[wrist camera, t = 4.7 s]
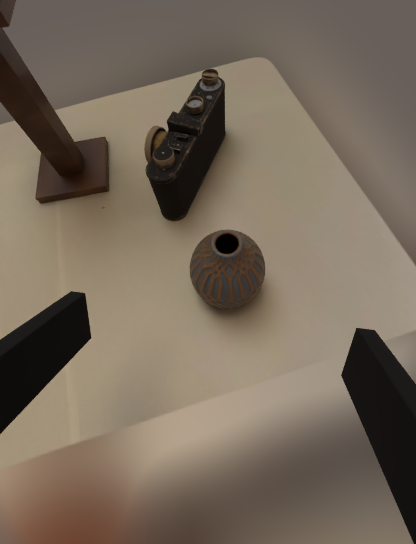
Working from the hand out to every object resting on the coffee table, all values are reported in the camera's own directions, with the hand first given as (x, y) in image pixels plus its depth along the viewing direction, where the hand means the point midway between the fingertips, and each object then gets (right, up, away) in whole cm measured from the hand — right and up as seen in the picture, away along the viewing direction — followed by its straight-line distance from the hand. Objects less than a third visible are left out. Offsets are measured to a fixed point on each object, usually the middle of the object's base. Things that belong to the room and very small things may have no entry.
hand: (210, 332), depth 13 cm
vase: (+2, +2, +15) cm, 15 cm away
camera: (-3, +17, +22) cm, 28 cm away
